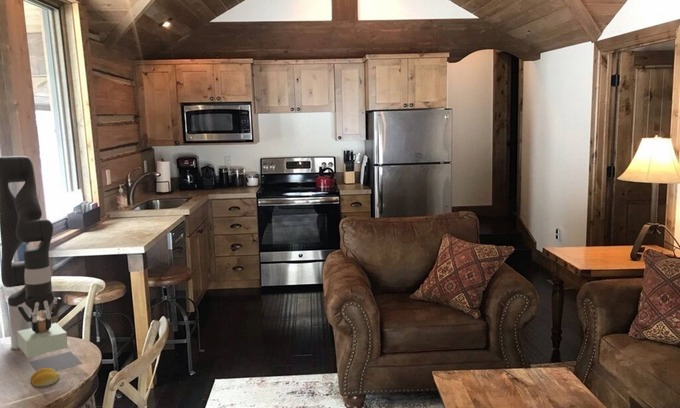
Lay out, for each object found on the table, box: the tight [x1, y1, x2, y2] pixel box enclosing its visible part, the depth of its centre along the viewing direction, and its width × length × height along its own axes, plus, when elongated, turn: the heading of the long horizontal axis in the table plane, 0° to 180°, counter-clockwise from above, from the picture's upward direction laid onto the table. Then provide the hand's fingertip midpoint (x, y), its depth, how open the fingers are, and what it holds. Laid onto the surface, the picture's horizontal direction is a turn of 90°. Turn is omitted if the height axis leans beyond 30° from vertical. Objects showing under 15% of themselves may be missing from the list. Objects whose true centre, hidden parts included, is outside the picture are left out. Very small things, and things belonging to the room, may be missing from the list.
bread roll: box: [30, 368, 60, 387], centre depth 183 cm, size 8×9×4 cm
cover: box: [17, 318, 68, 358], centre depth 181 cm, size 12×12×9 cm
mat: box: [28, 351, 83, 372], centre depth 196 cm, size 14×14×1 cm
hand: (41, 330), depth 181 cm, fingers closed on cover, 3 cm apart
